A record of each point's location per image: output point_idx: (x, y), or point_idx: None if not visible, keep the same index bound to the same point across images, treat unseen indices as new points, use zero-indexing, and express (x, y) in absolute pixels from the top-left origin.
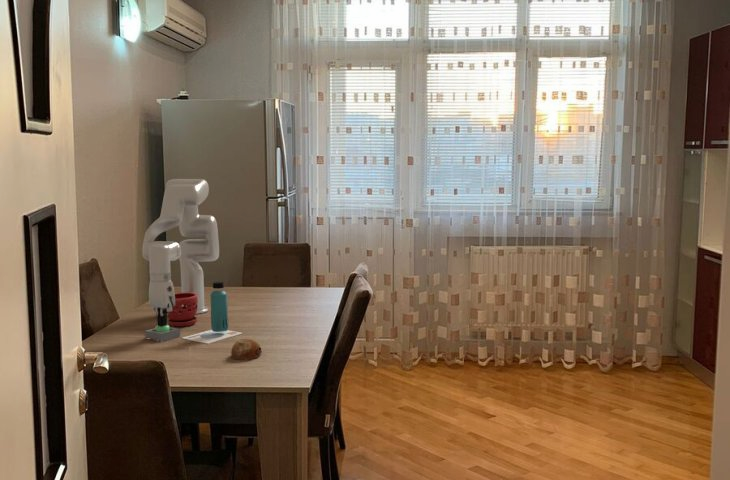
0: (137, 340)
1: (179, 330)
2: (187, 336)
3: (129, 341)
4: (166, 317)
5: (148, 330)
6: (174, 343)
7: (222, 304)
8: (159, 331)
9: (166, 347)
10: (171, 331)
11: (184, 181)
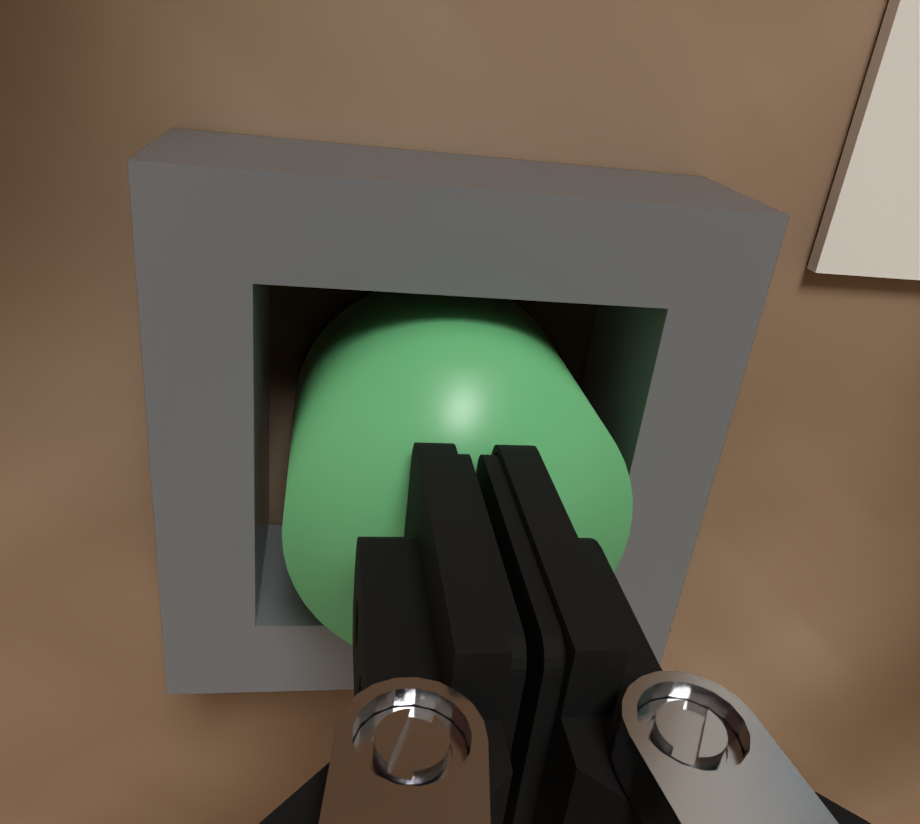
0: (190, 702)
1: (765, 220)
2: (879, 133)
3: (138, 783)
4: (592, 587)
5: (218, 653)
6: (850, 536)
7: None
8: None
9: (851, 702)
10: (715, 456)
11: None
